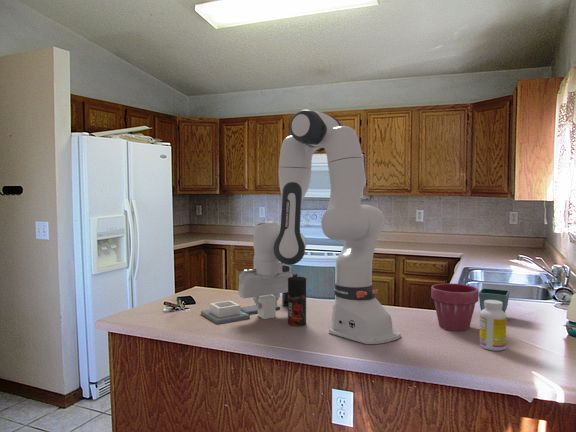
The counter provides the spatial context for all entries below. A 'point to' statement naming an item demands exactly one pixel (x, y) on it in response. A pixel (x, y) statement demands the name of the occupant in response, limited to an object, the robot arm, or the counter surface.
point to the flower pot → (493, 297)
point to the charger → (267, 307)
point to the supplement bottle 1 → (285, 295)
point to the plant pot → (454, 305)
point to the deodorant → (297, 301)
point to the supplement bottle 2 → (493, 326)
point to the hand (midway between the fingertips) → (266, 307)
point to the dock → (225, 312)
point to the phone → (253, 309)
